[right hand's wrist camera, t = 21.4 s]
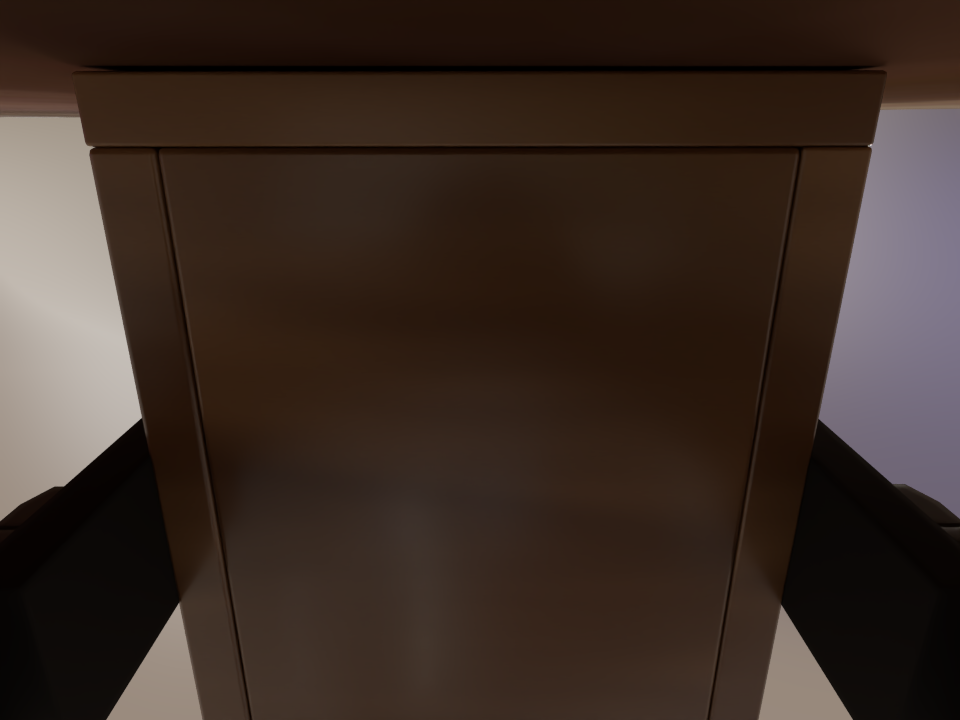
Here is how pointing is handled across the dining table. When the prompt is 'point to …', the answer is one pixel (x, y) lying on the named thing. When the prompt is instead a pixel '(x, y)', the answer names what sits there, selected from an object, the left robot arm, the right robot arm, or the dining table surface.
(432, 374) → the chest
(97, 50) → the dining table surface
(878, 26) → the dining table surface
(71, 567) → the right robot arm
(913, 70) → the dining table surface
